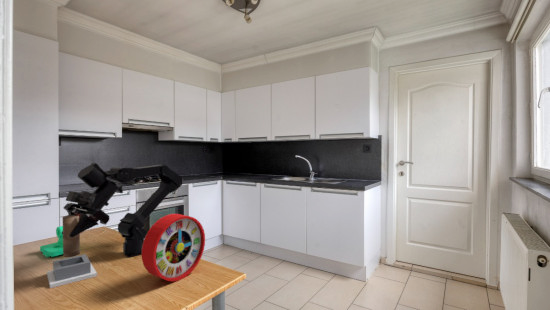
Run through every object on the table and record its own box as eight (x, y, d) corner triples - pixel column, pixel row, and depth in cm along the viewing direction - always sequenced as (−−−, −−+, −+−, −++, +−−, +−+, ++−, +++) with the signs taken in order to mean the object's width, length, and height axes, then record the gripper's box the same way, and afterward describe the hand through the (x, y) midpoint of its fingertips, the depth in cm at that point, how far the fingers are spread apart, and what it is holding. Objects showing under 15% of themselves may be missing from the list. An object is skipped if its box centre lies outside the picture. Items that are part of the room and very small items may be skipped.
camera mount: (39, 253, 112) (38, 227, 112) (62, 247, 119) (61, 222, 119) (51, 259, 106) (51, 232, 106) (74, 253, 112) (74, 227, 112)
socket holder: (90, 264, 102) (89, 251, 101) (97, 276, 93) (96, 262, 93) (46, 274, 94) (46, 260, 93) (49, 288, 85) (49, 273, 84)
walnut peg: (82, 251, 95) (81, 214, 95) (75, 256, 91) (74, 217, 91) (67, 252, 95) (67, 214, 94) (60, 257, 90) (59, 218, 90)
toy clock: (153, 292, 83) (153, 223, 82) (141, 286, 86) (141, 220, 85) (205, 267, 100) (205, 210, 99) (193, 264, 103) (193, 208, 102)
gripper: (69, 179, 100) (31, 218, 91) (99, 183, 91) (60, 226, 82) (93, 198, 107) (60, 235, 98) (123, 203, 98) (89, 245, 89)
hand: (66, 235), depth 91 cm, fingers closed on walnut peg, 4 cm apart
